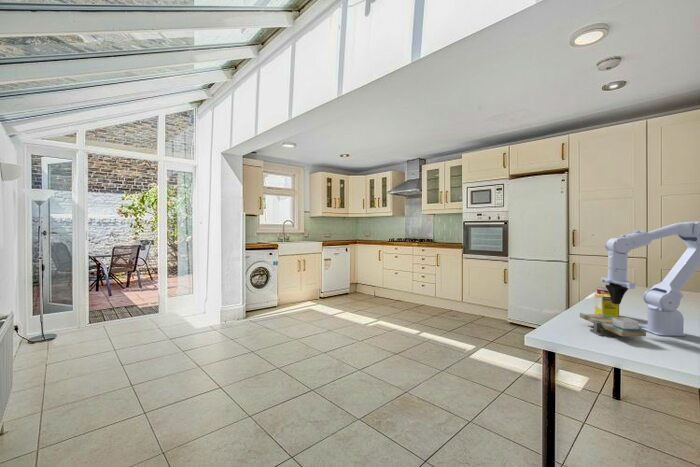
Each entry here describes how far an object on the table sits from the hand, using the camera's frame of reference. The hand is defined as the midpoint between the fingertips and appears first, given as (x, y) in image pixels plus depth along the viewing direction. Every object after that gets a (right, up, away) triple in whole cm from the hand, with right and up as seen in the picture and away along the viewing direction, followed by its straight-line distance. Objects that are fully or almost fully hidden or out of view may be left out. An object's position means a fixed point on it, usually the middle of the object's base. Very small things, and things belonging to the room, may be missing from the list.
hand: (616, 303), depth 123 cm
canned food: (+14, -10, +21) cm, 27 cm away
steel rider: (-5, -7, -10) cm, 13 cm away
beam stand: (-5, -11, -4) cm, 12 cm away
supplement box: (+7, -10, +13) cm, 18 cm away
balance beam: (-5, -8, -3) cm, 9 cm away
